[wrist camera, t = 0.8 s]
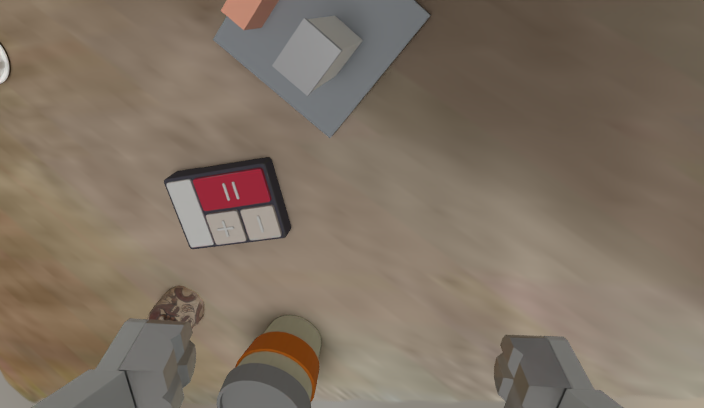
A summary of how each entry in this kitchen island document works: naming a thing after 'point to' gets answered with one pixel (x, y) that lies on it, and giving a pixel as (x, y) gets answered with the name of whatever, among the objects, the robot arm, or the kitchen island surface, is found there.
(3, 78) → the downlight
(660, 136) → the kitchen island surface
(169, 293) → the figurine
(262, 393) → the reusable coffee cup
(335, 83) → the base
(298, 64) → the beige rectangular block
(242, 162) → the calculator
